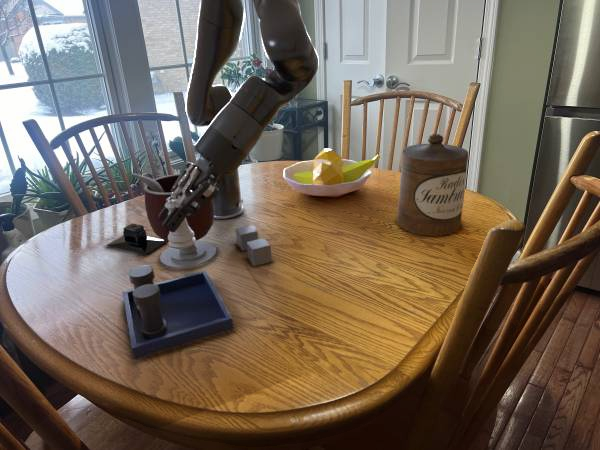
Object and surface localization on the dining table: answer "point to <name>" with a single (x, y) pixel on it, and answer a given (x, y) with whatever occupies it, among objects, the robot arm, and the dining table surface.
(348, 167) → the fruit bowl
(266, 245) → the grey block near
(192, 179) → the robot arm
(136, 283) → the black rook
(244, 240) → the grey block far
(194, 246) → the mate gourd
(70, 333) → the dining table surface
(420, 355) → the dining table surface
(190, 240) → the rook chess piece
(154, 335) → the dark grey cylinder
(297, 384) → the dining table surface
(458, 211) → the wooden container
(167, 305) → the tray
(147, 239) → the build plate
